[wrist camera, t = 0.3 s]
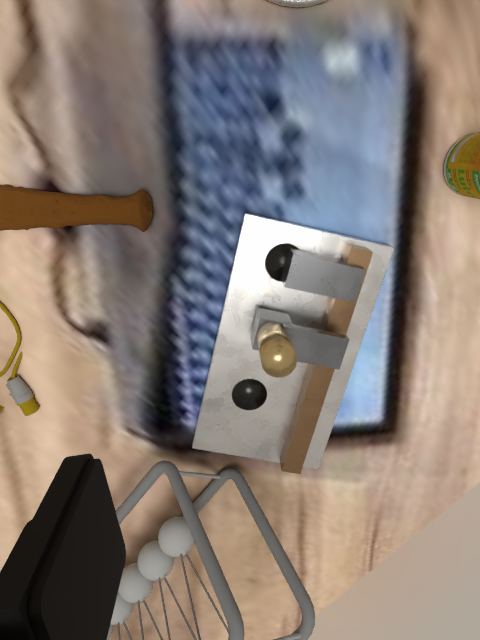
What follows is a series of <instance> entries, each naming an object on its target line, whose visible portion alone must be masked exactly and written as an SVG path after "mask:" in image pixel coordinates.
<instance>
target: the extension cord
mask: <svg viewBox="0 0 480 640" xmlns="http://www.w3.org/2000/svg"><path fill="white" fill-rule="evenodd" d="M0 308H1V309H2V310H3V311H4V312H5V313H6V314H7V316H8V317H9V318H10V320H11V321H12V323H13V325H14V327H15V329H16V332H17V343H16V346H15V348H14V350H13V353H12V355H11V357H10V359H9V361H8V363H7V365H6V366H5V368H4V369H3V371H2V372H1V373H0V377H1V376H2V375H3V374H4V373H5V372H6V371H7V370H8V368H9V367H10V365H11V363H12V361H13V359H14V357H15V355H16V353H17V350H18V348H19V346H20V343H21V333H20V328H19V325H18V322H17V321H16V320H15V318H14V317H13V316H12V314H11V313H10V312H9V310H8V309H7V308H6V306H5V305H4V304H3V303H2V302H1V301H0ZM21 359H22V352H21V353H20V354H19V357H18V359H17V362H16V364H15V367H14V369H13V372H12V377H11V378H9V379H8V380H7V382H8V383H7V384H6V386H7V385H8V386H7V387H8V389H9V390H10V392H11V394H9V395H11V396H12V397H13V399H14V400H15V402H16V404H17V405H19V406H20V408H21V409H22V411H23V413H24V414H25V416H28V415H31V414H33V413H35V412H36V411H37V410H38V409H39V407H40V405H39V404H38V403H36V401H35V399H34V394H33V393H32V391H31V389H30V388H29V387H28V386H27V385H26V383H25V382H24V381H23V380H22V379H21V378H20V377H19V375H16V371H17V369H18V366H19V364H20V361H21ZM2 409H3V407H2V406H0V412H1V411H2Z"/></svg>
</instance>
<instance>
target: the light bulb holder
mask: <svg viewBox="0 0 480 640" xmlns="http://www.w3.org/2000/svg"><path fill="white" fill-rule="evenodd" d="M250 338H251V345H252V349H253V350H259V353H260V359H261V364H262V368H263V370H264V371H265V372H266V373H267V374H268V375H270V376H272V377H277V378H280V377H285V376H287V375H289V374H290V373H292V371H293V370H294V369H295V367H296V364H297V362H302V363H307V364H312V365H317V366H322V367H328V368H333V369H338V370H340V367H341V364H342V361H343V358H344V355H345V352H346V349H347V346H348V343H349V340H350V339H349V338H348V336H347V335H343V334H338V333H333V332H328V331H323V330H319V329H314V328H309V327H304V326H299V325H294V324H293V323H292V321H291V318H290V316H289V314H287V313H283V312H278V311H273V310H268V309H263V308H257V312H256V316H255V320H254V324H253V327H252V331H251V335H250Z"/></svg>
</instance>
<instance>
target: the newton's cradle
mask: <svg viewBox="0 0 480 640" xmlns="http://www.w3.org/2000/svg"><path fill="white" fill-rule="evenodd" d="M161 474H167V476H168V478H169V481H170V483H171V486H172V488H173V491H174V493H175V496H176V498H177V500H178V503H179V505H180V508H181V510H182V513H183V515H182V516H181V517H172V518H170V519H168V520H167V521H165V522H164V523H163V525H162V526H161V528H160V530H159V535H158V540H154V541H150V542H148V543H147V544H146V545H144V546H143V548H142V549H141V550H140V553H139V555H138V560H137V563H132V564H130V565H128V566H127V567H125V568H124V569H123V573H122V577H121V581H120V586H119V590H118V594H117V598H116V602H115V607H114V611H113V615H112V619H111V624H110V628H109V632H108V636H107V640H108V639H109V637H110V636H111V633H112V630H113V625H117V624H118V635H119V640H121V639H120V629H119V625H121V624H124V626H125V628H126V630H127V633H128V635H129V637H130V640H132V638H131V636H130V633H129V631H128V629H127V626H126V624H125V622H124V621H125V620H126V619H127V618H128V617H129V616H130V614H131V612H132V610H133V606H134V603H138V609H139V617H140V625H141V632H142V640H144V635H143V627H142V620H141V612H140V605H139V603H142V602H144V604H145V606H146V608H147V610H148V612H149V615H150V617H151V619H152V621H153V623H154V625H155V628H156V630H157V632H158V634H159V636H160V638H161V640H163V639H162V637H161V634H160V632H159V630H158V628H157V626H156V624H155V621H154V619H153V617H152V615H151V613H150V611H149V609H148V606H147V604H146V602H145V600H144V599H145V598H146V597H147V596H148V595H149V594H150V592H151V590H152V587H153V582H154V581H155V580H159V585H160V591H161V597H162V603H163V608H164V614H165V620H166V626H167V631H168V637H169V640H171V638H170V633H169V627H168V621H167V616H166V610H165V604H164V599H163V593H162V587H161V582H160V580H163V579H165V581H166V583H167V585H168V587H169V589H170V591H171V593H172V595H173V597H174V599H175V601H176V603H177V605H178V607H179V609H180V611H181V613H182V615H183V617H184V619H185V621H186V623H187V625H188V627H189V629H190V631H191V633H192V635H193V637H194V639H195V640H197V639H196V637H195V635H194V633H193V631H192V629H191V627H190V625H189V623H188V621H187V619H186V617H185V615H184V613H183V611H182V609H181V607H180V605H179V603H178V602H177V600H176V598H175V596H174V594H173V592H172V590H171V588H170V586H169V584H168V582H167V580H166V578H165V576H166V575H167V574H168V573H169V572H170V571H171V569H172V566H173V563H174V557H181V561H182V566H183V570H184V575H185V579H186V584H187V588H188V593H189V597H190V602H191V606H192V611H193V615H194V620H195V624H196V629H197V633H198V638H199V640H201V638H200V634H199V629H198V625H197V620H196V616H195V612H194V607H193V603H192V598H191V594H190V589H189V585H188V580H187V576H186V571H185V567H184V562H183V558H182V557H183V556H185V555H186V556H187V558H188V560H189V562H190V564H191V566H192V567H193V569H194V571H195V573H196V575H197V577H198V578H199V580H200V582H201V584H202V586H203V588H204V589H205V591H206V593H207V595H208V597H209V599H210V600H211V602H212V604H213V606H214V608H215V610H216V611H217V613H218V615H219V617H220V619H221V621H222V623H223V624H224V626H225V628H226V630H227V632H228V634H229V638H228V640H244V625H243V620H242V617H241V614H240V611H239V609H238V606H237V604H236V602H235V599H234V597H233V595H232V592H231V590H230V588H229V586H228V583H227V581H226V579H225V576H224V574H223V572H222V569H221V567H220V565H219V563H218V560H217V558H216V556H215V553H214V551H213V549H212V546H211V544H210V542H209V540H208V537H207V535H206V533H205V530H204V528H203V526H202V523H201V521H200V519H199V516H198V514H197V513H198V512H199V511H200V510H201V509H202V508H203V507H204V505H205V504H206V503H207V502H208V501H209V500H210V499H211V498H212V496H213V495H214V494H215V493H216V492H217V491H218V490H219V489H220V488H221V486H222V485H223V484H224V483H225V482H226V481H227V480H228V479H232V480H233V481H234V482H235V484H236V486H237V488H238V490H239V491H240V493H241V495H242V497H243V499H244V501H245V503H246V505H247V507H248V508H249V510H250V512H251V514H252V516H253V518H254V520H255V522H256V524H257V526H258V527H259V529H260V531H261V533H262V535H263V537H264V539H265V541H266V543H267V545H268V546H269V548H270V550H271V552H272V554H273V556H274V558H275V560H276V562H277V564H278V565H279V567H280V569H281V571H282V573H283V575H284V577H285V579H286V581H287V583H288V584H289V586H290V588H291V590H292V592H293V594H294V596H295V598H296V600H297V602H298V603H299V606H300V608H301V612H302V621H301V624H300V626H299V627H298V629H296V630H295V631H294V632H293V633H292V634H291V635H288V636H284V637H281V638H277V639H274V640H307V639H308V638H309V637H310V635H311V634H312V631H313V628H314V625H315V612H314V607H313V604H312V601H311V599H310V597H309V595H308V593H307V591H306V589H305V588H304V586H303V584H302V582H301V580H300V579H299V577H298V575H297V573H296V571H295V569H294V568H293V566H292V564H291V562H290V560H289V558H288V557H287V555H286V553H285V551H284V549H283V548H282V546H281V544H280V542H279V540H278V538H277V537H276V535H275V533H274V531H273V529H272V527H271V526H270V524H269V522H268V520H267V518H266V517H265V515H264V513H263V511H262V509H261V507H260V506H259V504H258V502H257V500H256V498H255V496H254V495H253V493H252V491H251V489H250V487H249V486H248V484H247V482H246V480H245V478H244V477H243V475H242V474H241V473H240V472H239V471H237V470H236V469H232V468H228V469H225V470H223V471H222V472H221V473H219V474H218V475H212V474H202V473H192V472H182V471H179V470H178V469H177V467H176V466H175V465H174V464H173V463H172V462H170V461H161V462H158V463H156V464H155V465H154V466H153V467H152V468H151V469H150V471H149V472H148V473H147V474H146V475H145V477H144V478H143V479H142V480H141V482H140V483H139V484H138V485H137V486H136V488H135V489H134V490H133V491H132V492H131V494H130V495H129V496H128V497H127V499H126V500H125V501H124V502H123V503H122V505H121V506H120V507H119V508H118V509H117V511H116V515H117V519H118V522H119V524H120V523H121V522H122V521H123V520H124V518H125V517H126V516H127V515H128V514H129V512H130V511H131V510H132V509H133V508H134V506H135V505H136V504H137V503H138V502H139V500H140V499H141V498H142V497H143V496H144V494H145V493H146V492H147V491H148V490H149V488H150V487H151V486H152V485H153V484H154V482H155V481H156V480H157V479H158V478H159V476H160V475H161ZM181 475H182V476H193V477H203V478H214V480H213V481H212V482H211V483H210V485H209V486H208V487H207V488H206V489H205V490H204V491H203V493H202V494H201V495H200V496H199V497H198V498H197V499H196V500H195V502H194V503H192V500H191V498H190V496H189V493H188V491H187V489H186V487H185V484H184V482H183V480H182V477H181ZM194 542H195V544H196V547H197V549H198V552H199V554H200V557H201V559H202V561H203V564H204V566H205V569H206V571H207V574H208V576H209V579H210V581H211V583H212V586H213V588H214V591H215V593H216V596H217V598H218V600H219V603H220V605H221V608H222V610H223V613H224V615H225V618H226V620H227V624H228V628H229V630H228V628H227V626H226V624H225V622H224V621H223V619H222V617H221V615H220V613H219V611H218V610H217V608H216V606H215V604H214V602H213V600H212V599H211V597H210V595H209V593H208V591H207V589H206V588H205V586H204V584H203V582H202V580H201V579H200V577H199V575H198V573H197V571H196V569H195V568H194V566H193V564H192V562H191V560H190V558H189V557H188V555H187V554H186V553H188V552H189V551H190V549H191V548H192V546H193V544H194Z"/></svg>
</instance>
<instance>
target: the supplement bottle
mask: <svg viewBox="0 0 480 640" xmlns="http://www.w3.org/2000/svg"><path fill="white" fill-rule="evenodd" d="M444 176H445V180H446V182H447V184H448V186H449V187H450V188H451V189H452V190H453V191H454V192H456V193H458V194H460V195H463V196H468V197H473V198H478V199H480V132H479V133H472V134H469V135H467V136H465V137H463V138H461V139H460V140H459V141H457V142H456V143H455V144H454V145H453V146H452V148H451V149H450V151H449V152H448V154H447V157H446V159H445V163H444Z"/></svg>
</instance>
